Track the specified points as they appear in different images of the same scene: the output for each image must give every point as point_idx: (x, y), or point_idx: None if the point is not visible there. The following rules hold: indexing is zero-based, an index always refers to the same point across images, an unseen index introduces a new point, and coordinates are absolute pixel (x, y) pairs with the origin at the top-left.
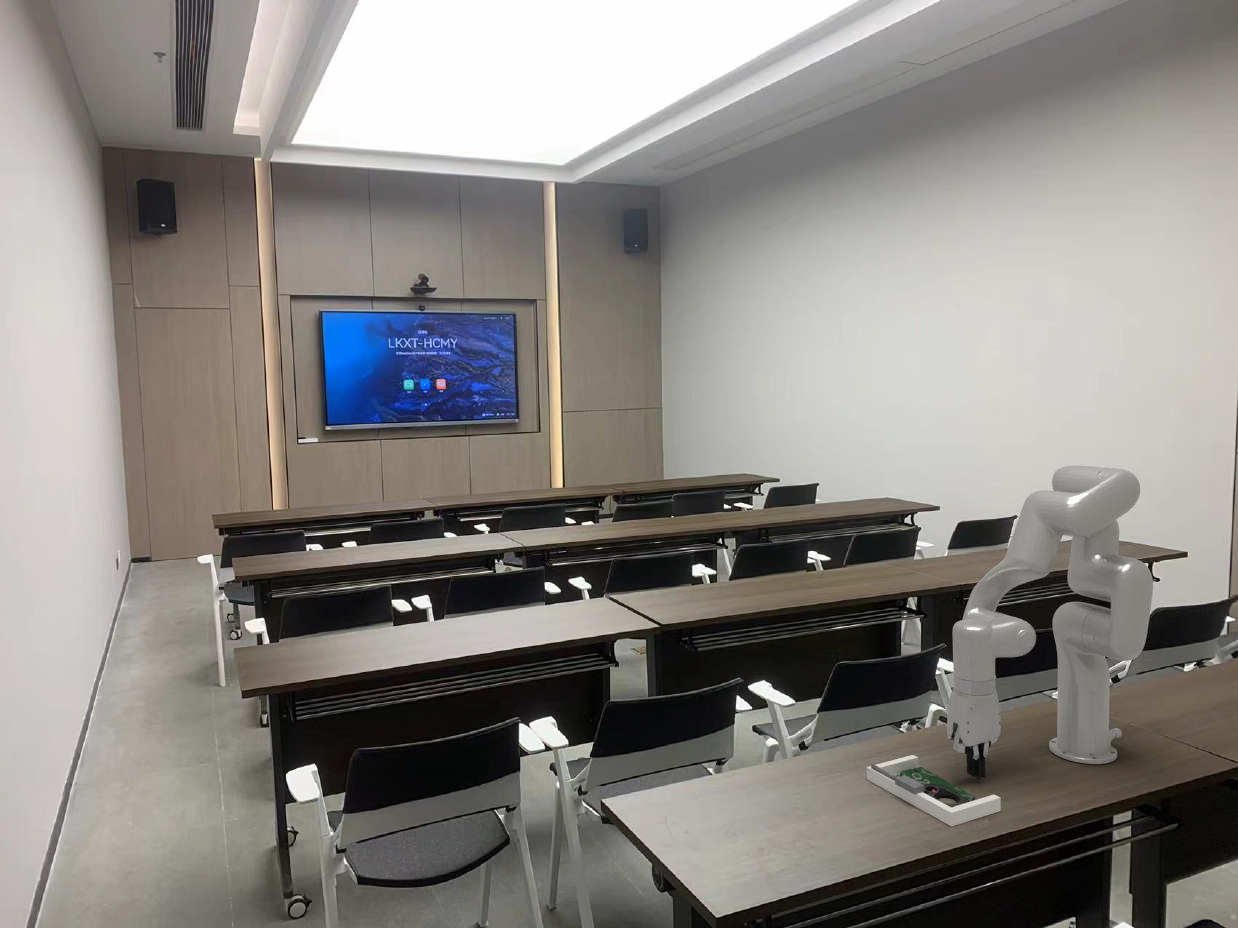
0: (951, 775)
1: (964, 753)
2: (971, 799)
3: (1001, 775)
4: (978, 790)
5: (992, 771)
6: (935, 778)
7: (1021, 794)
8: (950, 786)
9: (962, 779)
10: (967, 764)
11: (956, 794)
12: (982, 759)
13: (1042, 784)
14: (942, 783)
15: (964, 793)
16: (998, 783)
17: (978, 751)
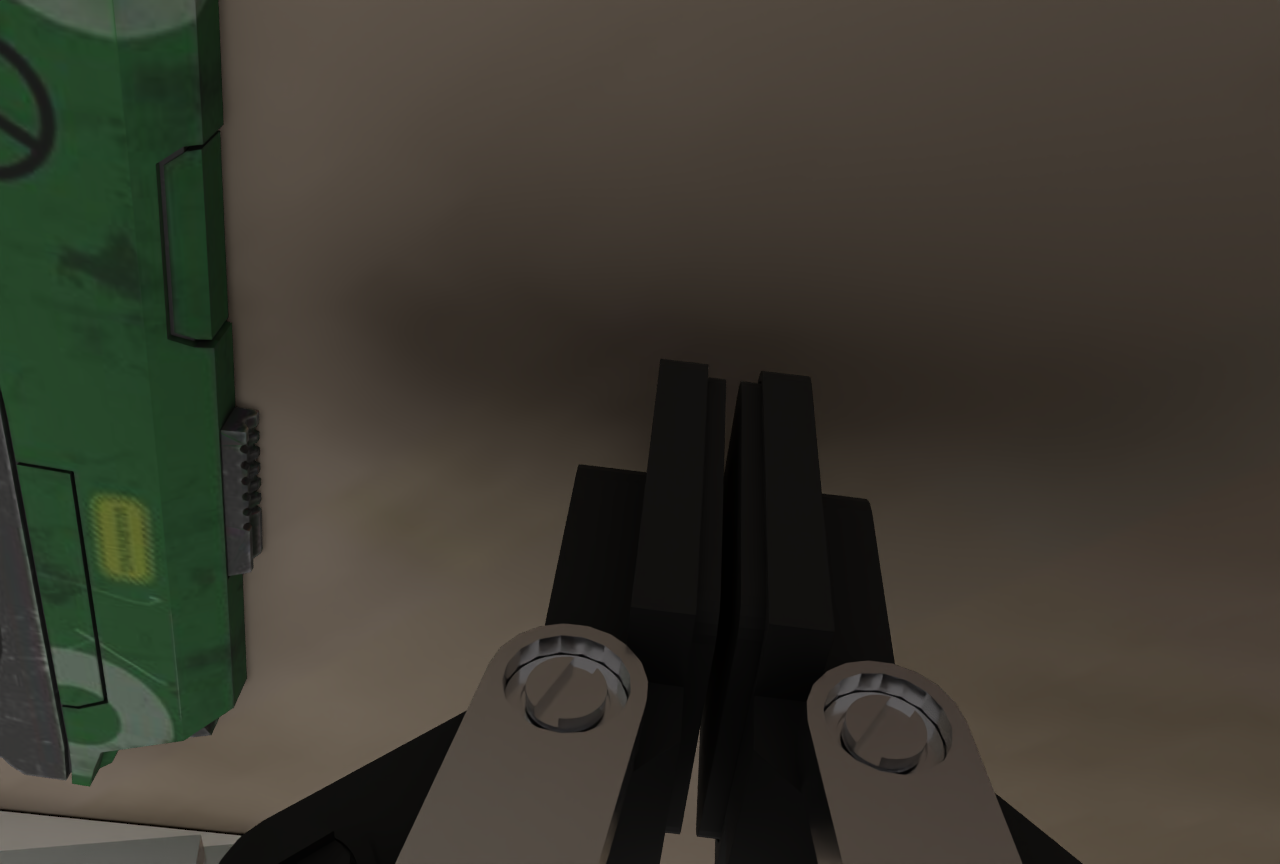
0: (559, 45)
1: (493, 673)
2: (120, 742)
3: (1205, 503)
4: (490, 578)
5: (1272, 355)
6: (13, 119)
7: None
8: (73, 448)
9: (590, 262)
10: (562, 541)
11: (10, 607)
12: (715, 831)
13: (1265, 849)
14: (14, 319)
15: (129, 647)
16: (901, 605)
17: (766, 861)
